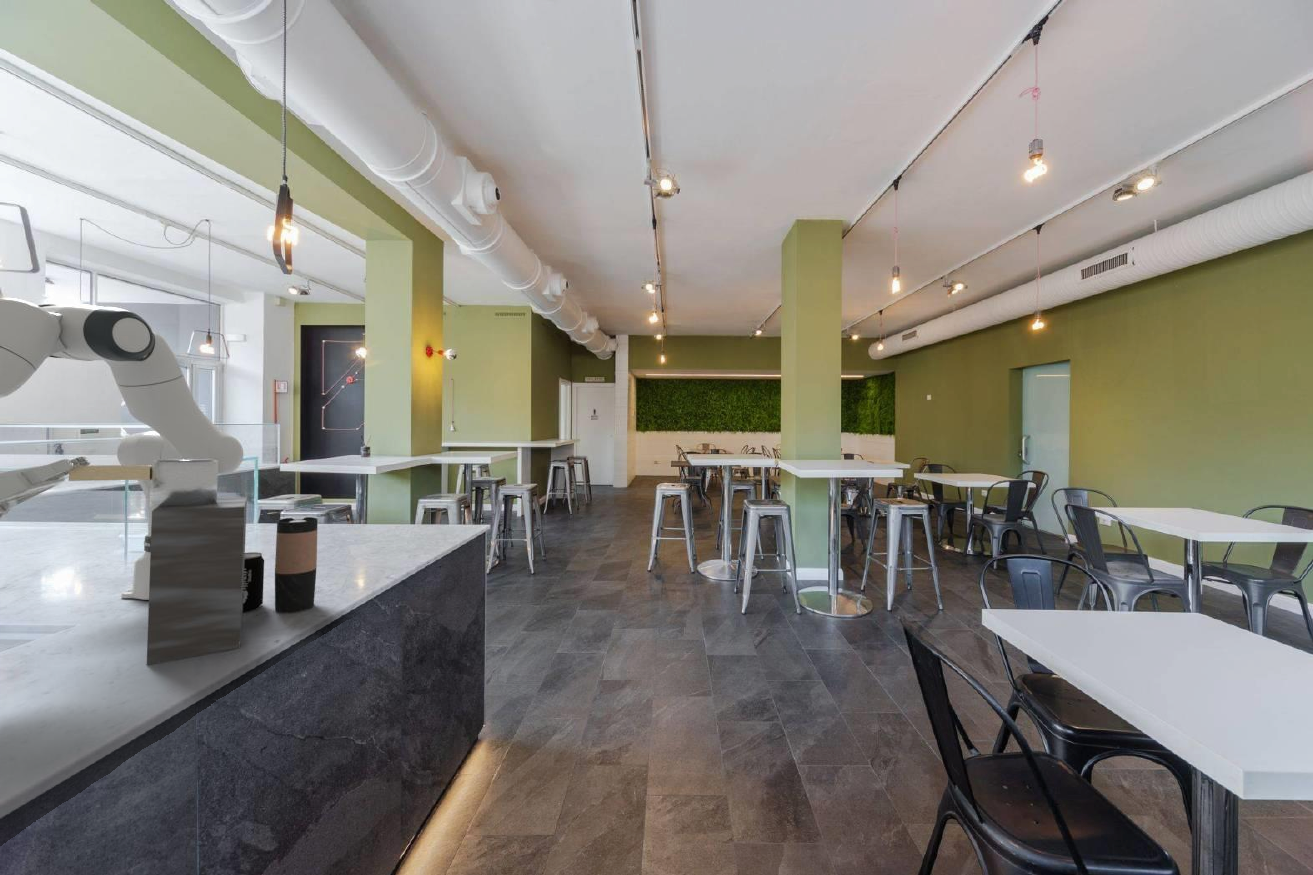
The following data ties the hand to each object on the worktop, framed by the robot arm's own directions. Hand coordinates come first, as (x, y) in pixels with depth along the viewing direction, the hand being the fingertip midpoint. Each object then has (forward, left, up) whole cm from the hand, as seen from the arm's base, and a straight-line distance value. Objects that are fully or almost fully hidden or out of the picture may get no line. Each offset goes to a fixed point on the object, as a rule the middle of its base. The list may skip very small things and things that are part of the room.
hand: (79, 461), depth 84 cm
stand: (0, +16, -34) cm, 38 cm away
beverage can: (-17, +22, -34) cm, 44 cm away
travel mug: (-12, +31, -34) cm, 48 cm away
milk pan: (0, +8, -8) cm, 12 cm away
